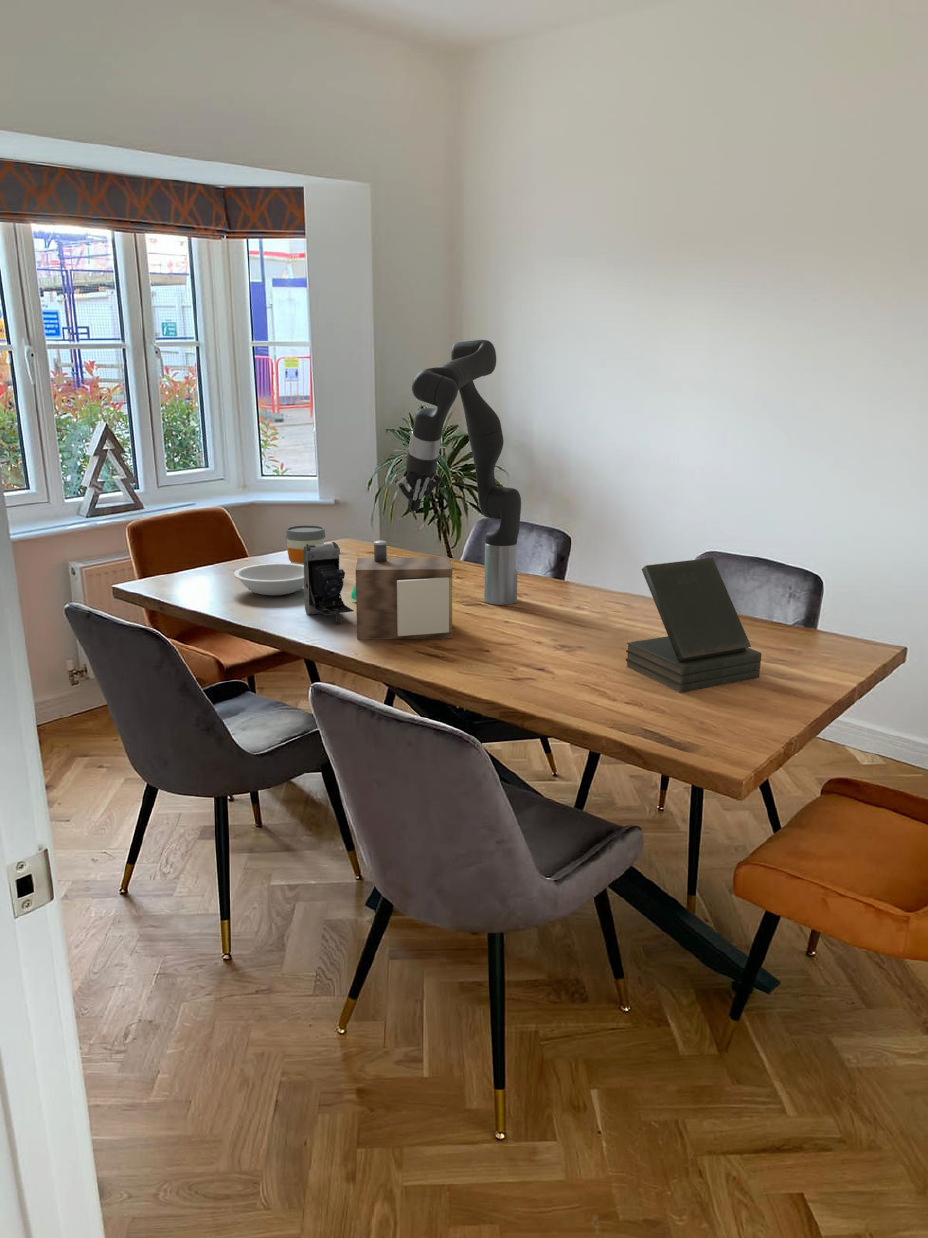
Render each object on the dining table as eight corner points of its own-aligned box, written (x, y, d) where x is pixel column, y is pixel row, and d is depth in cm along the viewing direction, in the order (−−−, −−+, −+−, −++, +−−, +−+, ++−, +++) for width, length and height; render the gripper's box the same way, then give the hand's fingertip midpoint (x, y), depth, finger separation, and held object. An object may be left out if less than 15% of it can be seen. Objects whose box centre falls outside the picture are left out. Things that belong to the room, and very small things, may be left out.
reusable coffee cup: (323, 579, 305) (321, 532, 301) (283, 578, 305) (281, 532, 301) (329, 570, 317) (327, 525, 313) (291, 569, 317) (289, 524, 313)
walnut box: (449, 622, 258) (449, 557, 253) (451, 638, 245) (452, 569, 240) (359, 623, 257) (357, 557, 252) (357, 639, 243) (355, 569, 238)
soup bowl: (309, 604, 276) (308, 581, 274) (225, 603, 276) (224, 580, 274) (322, 584, 299) (321, 563, 297) (245, 583, 299) (244, 562, 297)
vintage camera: (321, 629, 253) (321, 555, 247) (303, 612, 266) (302, 542, 260) (356, 625, 258) (357, 552, 252) (336, 609, 271) (336, 540, 265)
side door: (451, 630, 244) (451, 577, 240) (452, 632, 243) (452, 578, 239) (397, 634, 240) (396, 580, 236) (398, 636, 239) (397, 581, 235)
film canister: (387, 559, 250) (386, 540, 249) (387, 562, 247) (386, 543, 245) (374, 559, 250) (373, 540, 248) (373, 562, 246) (373, 543, 245)
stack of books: (679, 694, 207) (687, 581, 201) (624, 668, 224) (630, 563, 217) (759, 679, 218) (770, 571, 211) (701, 654, 234) (709, 554, 228)
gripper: (438, 439, 240) (427, 497, 251) (392, 446, 233) (383, 506, 244) (454, 454, 236) (442, 513, 247) (408, 462, 229) (398, 522, 240)
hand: (412, 509), depth 245 cm, fingers closed
